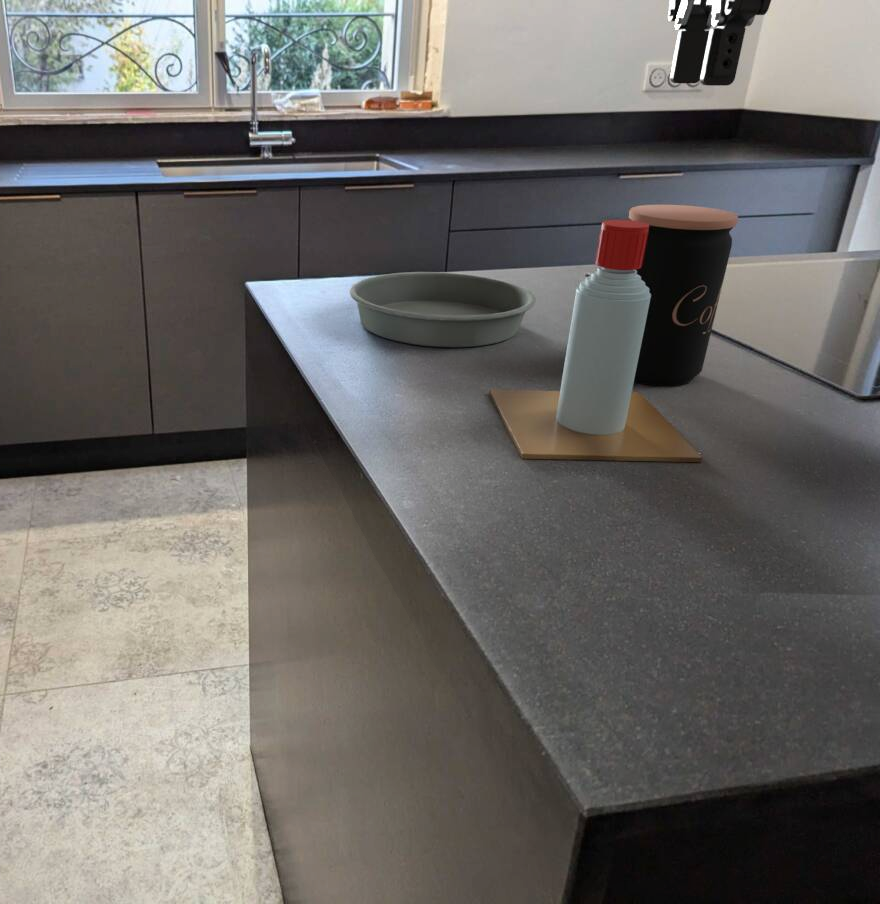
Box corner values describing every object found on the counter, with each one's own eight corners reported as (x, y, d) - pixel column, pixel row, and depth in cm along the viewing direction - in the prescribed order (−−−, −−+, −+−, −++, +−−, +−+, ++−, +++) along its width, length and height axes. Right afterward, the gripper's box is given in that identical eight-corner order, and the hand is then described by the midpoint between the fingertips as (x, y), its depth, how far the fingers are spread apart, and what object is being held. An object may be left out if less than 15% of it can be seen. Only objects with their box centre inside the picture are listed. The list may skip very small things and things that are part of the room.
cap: (602, 270, 72) (609, 227, 71) (589, 260, 76) (596, 219, 74) (648, 270, 72) (656, 228, 71) (633, 260, 76) (640, 219, 74)
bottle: (608, 408, 84) (643, 223, 76) (636, 434, 78) (677, 236, 70) (546, 409, 84) (575, 224, 76) (570, 435, 78) (604, 237, 70)
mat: (638, 396, 88) (639, 392, 88) (701, 462, 74) (702, 457, 74) (488, 394, 89) (489, 389, 89) (521, 458, 74) (522, 453, 74)
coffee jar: (666, 395, 89) (704, 224, 81) (582, 368, 96) (609, 210, 89) (718, 375, 94) (758, 214, 87) (634, 351, 102) (664, 201, 94)
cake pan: (564, 323, 113) (569, 290, 111) (467, 366, 97) (471, 329, 95) (416, 291, 128) (418, 262, 126) (311, 324, 112) (312, 291, 110)
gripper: (658, -165, 62) (618, 82, 69) (748, -225, 49) (687, 86, 56) (760, -166, 62) (709, 82, 69) (877, -226, 49) (799, 87, 56)
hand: (699, 83), depth 63 cm, fingers open, 5 cm apart
